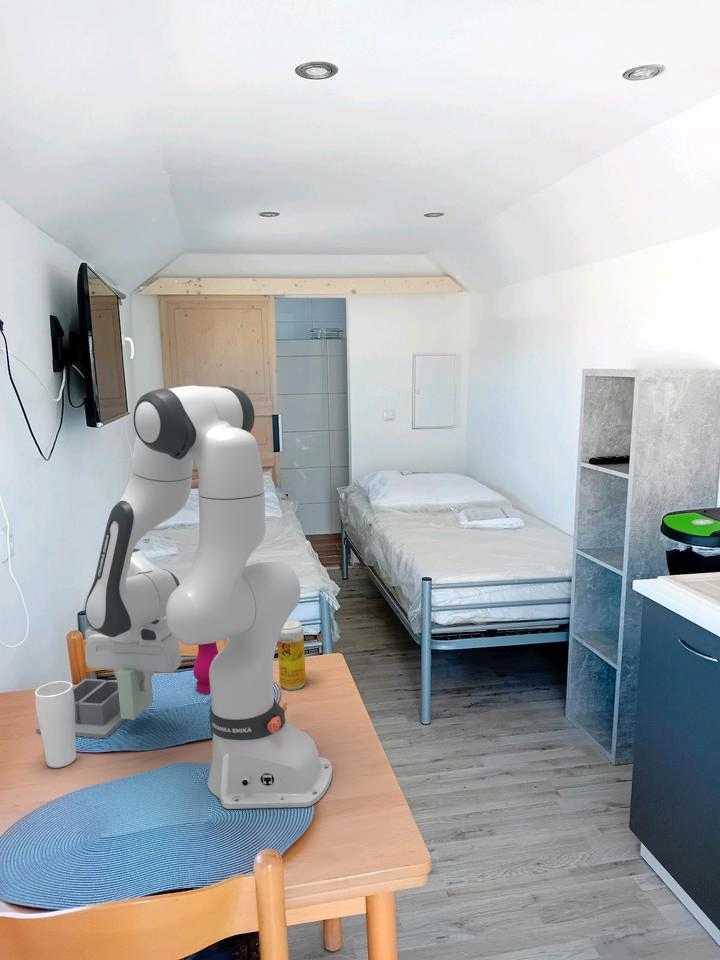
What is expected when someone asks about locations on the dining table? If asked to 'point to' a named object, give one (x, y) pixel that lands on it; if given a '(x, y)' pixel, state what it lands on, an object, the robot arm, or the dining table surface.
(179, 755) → the dining table surface
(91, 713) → the dish rack
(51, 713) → the drinking glass
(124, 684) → the rectangular block
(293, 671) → the beer can
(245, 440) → the robot arm
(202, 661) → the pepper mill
